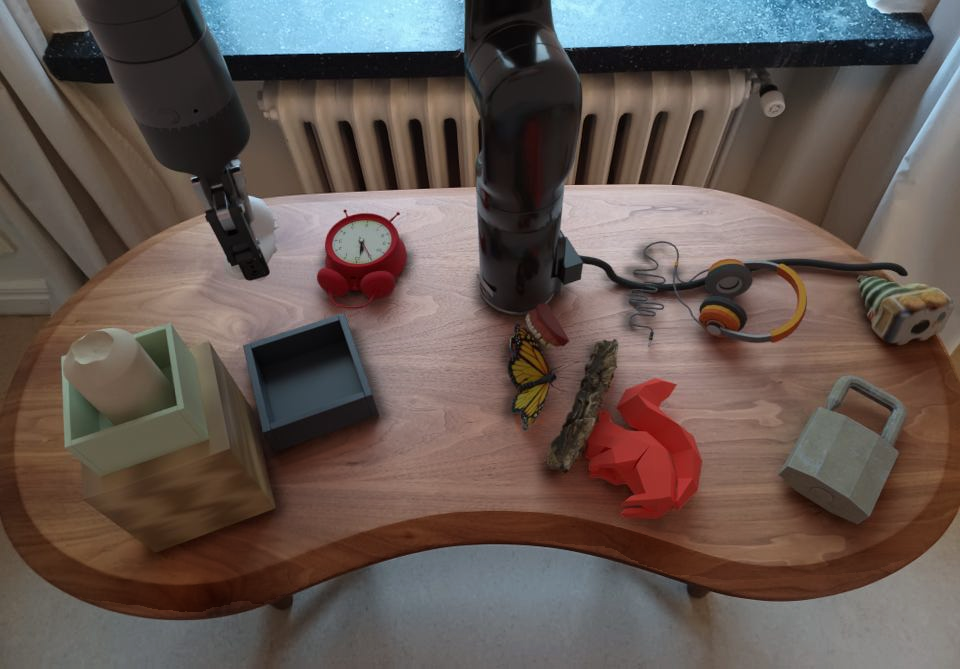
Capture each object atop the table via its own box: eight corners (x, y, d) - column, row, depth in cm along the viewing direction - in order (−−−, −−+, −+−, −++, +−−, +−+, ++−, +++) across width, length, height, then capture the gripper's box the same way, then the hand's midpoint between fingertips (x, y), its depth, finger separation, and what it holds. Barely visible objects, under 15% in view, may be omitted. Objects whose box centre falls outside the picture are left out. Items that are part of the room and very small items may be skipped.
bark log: (592, 349, 79) (590, 310, 74) (633, 359, 77) (633, 319, 72) (539, 481, 69) (531, 446, 64) (584, 495, 67) (580, 460, 62)
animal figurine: (686, 389, 74) (689, 362, 71) (707, 518, 65) (713, 496, 61) (580, 394, 76) (578, 368, 72) (586, 520, 67) (584, 499, 63)
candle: (162, 444, 57) (105, 383, 48) (103, 433, 57) (37, 371, 49) (191, 388, 60) (141, 322, 52) (135, 378, 61) (77, 312, 52)
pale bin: (195, 358, 62) (170, 322, 58) (209, 439, 57) (184, 408, 53) (94, 390, 61) (60, 356, 56) (100, 477, 56) (64, 448, 51)
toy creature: (294, 231, 66) (275, 183, 61) (268, 295, 62) (246, 249, 56) (249, 228, 67) (227, 180, 61) (220, 291, 62) (194, 244, 57)
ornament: (941, 341, 78) (883, 288, 85) (969, 301, 74) (906, 248, 81) (882, 351, 76) (828, 296, 83) (908, 310, 72) (849, 256, 79)
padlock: (774, 478, 68) (831, 377, 75) (853, 527, 66) (904, 417, 72) (790, 463, 65) (848, 358, 72) (873, 514, 62) (925, 400, 69)
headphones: (640, 225, 86) (814, 233, 78) (642, 254, 90) (808, 264, 82) (611, 328, 77) (804, 349, 69) (615, 355, 81) (799, 378, 73)
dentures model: (543, 335, 70) (513, 381, 75) (575, 334, 72) (544, 379, 78) (523, 296, 73) (496, 343, 79) (555, 296, 75) (526, 342, 81)
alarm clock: (410, 206, 87) (388, 276, 76) (414, 246, 92) (393, 318, 81) (331, 203, 88) (298, 272, 77) (339, 243, 92) (308, 314, 81)
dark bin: (351, 335, 80) (344, 312, 77) (379, 415, 74) (372, 394, 70) (255, 367, 78) (242, 345, 75) (275, 452, 72) (262, 432, 68)
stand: (254, 411, 75) (209, 340, 63) (276, 508, 68) (230, 448, 57) (143, 449, 73) (76, 382, 61) (155, 552, 66) (82, 500, 55)
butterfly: (591, 427, 68) (559, 420, 65) (528, 445, 74) (496, 440, 71) (578, 320, 73) (548, 309, 70) (519, 345, 79) (489, 335, 75)
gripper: (247, 137, 46) (307, 289, 59) (218, 29, 54) (276, 185, 67) (134, 166, 44) (221, 315, 58) (121, 51, 52) (200, 205, 66)
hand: (250, 245), depth 62 cm, fingers closed on toy creature, 7 cm apart
